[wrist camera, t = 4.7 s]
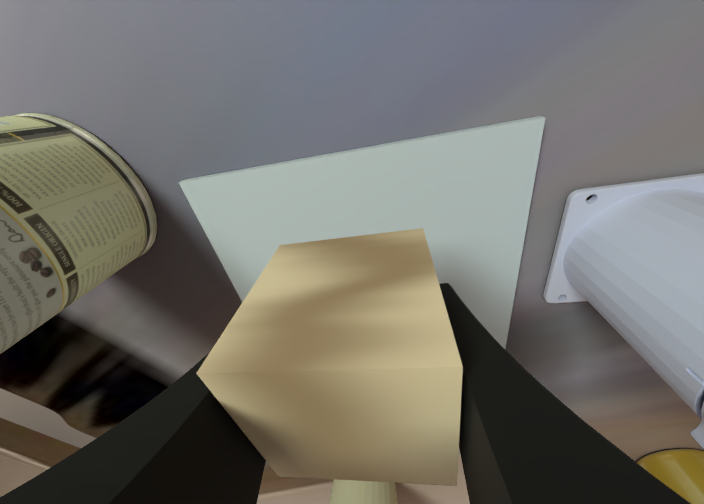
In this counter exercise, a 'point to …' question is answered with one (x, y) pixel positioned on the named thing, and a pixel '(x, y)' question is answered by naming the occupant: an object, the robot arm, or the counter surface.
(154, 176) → the counter surface
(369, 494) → the reusable coffee cup
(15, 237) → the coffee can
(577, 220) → the robot arm
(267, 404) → the maple block
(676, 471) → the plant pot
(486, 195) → the pale blue flat sheet
